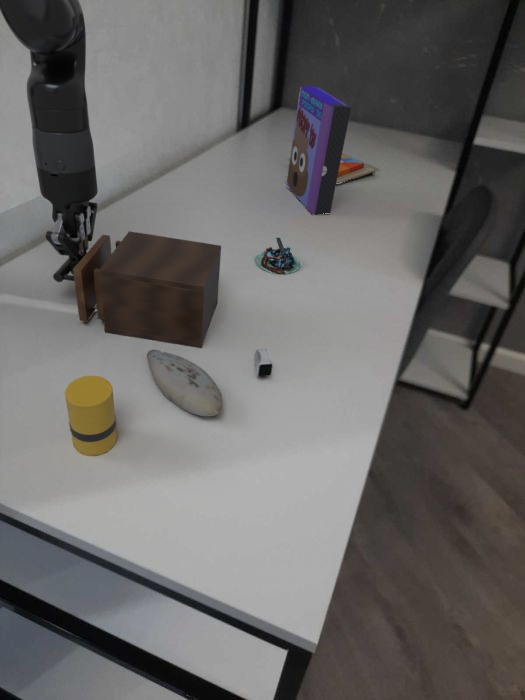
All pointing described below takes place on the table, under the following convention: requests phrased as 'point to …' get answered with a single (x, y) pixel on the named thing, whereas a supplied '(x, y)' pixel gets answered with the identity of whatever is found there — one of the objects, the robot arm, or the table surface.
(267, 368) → the smartwatch
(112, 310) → the cabinet
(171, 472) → the table surface
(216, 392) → the decorative stone
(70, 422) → the tape canister
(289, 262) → the dish
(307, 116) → the cereal box
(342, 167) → the wooden puzzle
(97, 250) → the drawer
